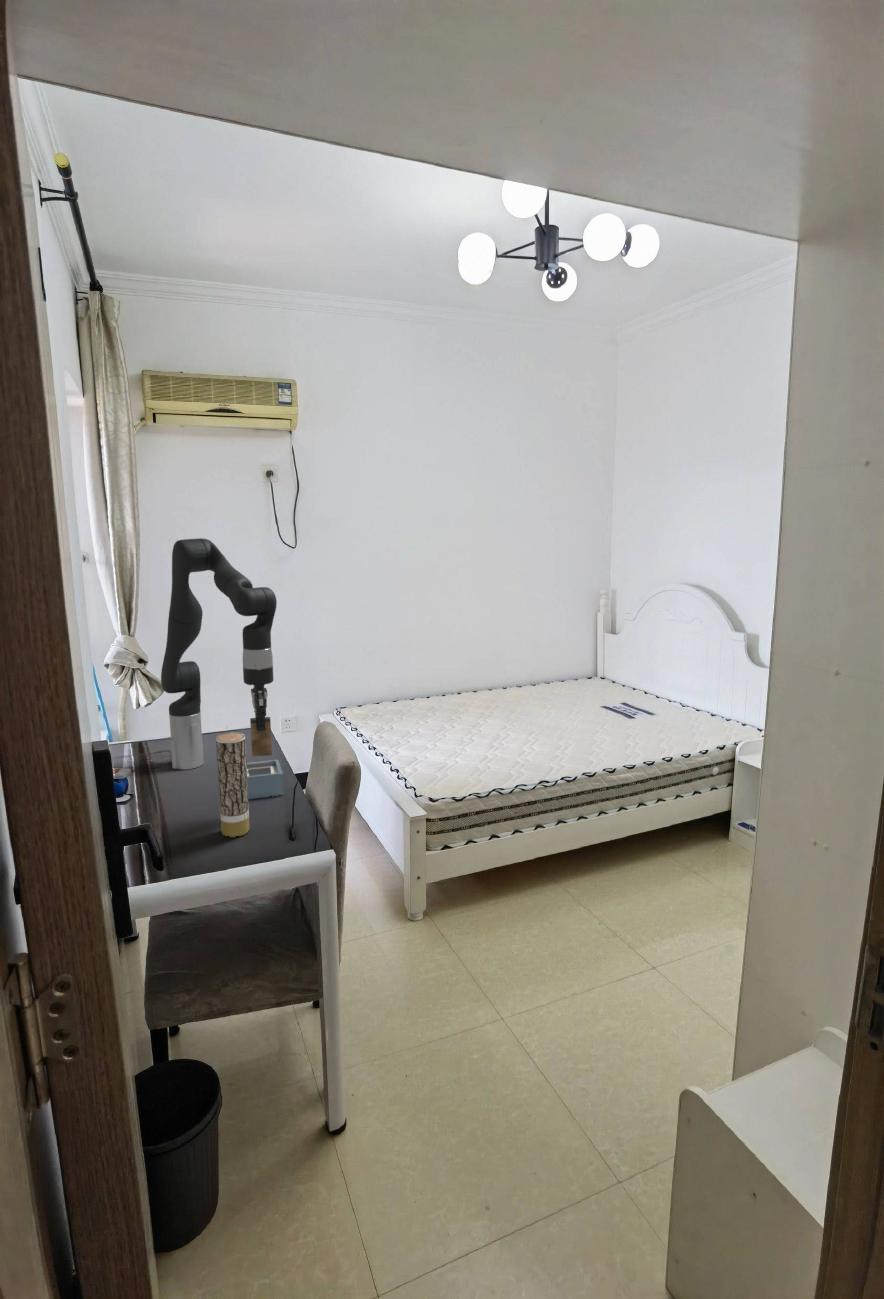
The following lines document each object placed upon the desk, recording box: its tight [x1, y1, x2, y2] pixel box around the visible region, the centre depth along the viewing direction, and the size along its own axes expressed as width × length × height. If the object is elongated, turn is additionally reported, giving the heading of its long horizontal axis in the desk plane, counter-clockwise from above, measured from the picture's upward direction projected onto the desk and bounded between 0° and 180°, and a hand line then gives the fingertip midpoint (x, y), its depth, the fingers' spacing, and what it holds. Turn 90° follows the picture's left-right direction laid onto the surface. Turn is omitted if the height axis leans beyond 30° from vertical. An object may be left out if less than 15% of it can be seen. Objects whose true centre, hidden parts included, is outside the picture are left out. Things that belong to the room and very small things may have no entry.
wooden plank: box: [249, 716, 273, 758], centre depth 180 cm, size 5×2×10 cm, turn 109°
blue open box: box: [246, 759, 284, 800], centre depth 197 cm, size 12×12×8 cm
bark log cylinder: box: [215, 732, 250, 838], centre depth 169 cm, size 7×7×25 cm
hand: (260, 728), depth 180 cm, fingers closed on wooden plank, 2 cm apart
